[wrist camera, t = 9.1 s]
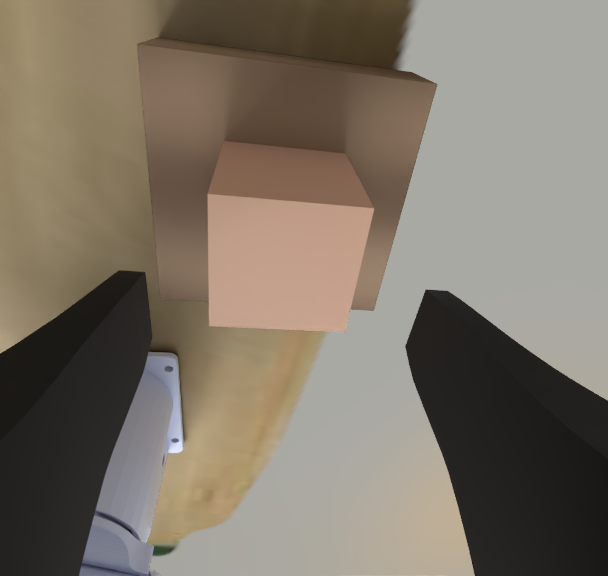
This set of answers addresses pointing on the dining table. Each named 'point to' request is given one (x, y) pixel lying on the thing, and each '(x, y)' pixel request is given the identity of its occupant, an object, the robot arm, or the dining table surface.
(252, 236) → the terracotta cube
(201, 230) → the walnut base
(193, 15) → the dining table surface
